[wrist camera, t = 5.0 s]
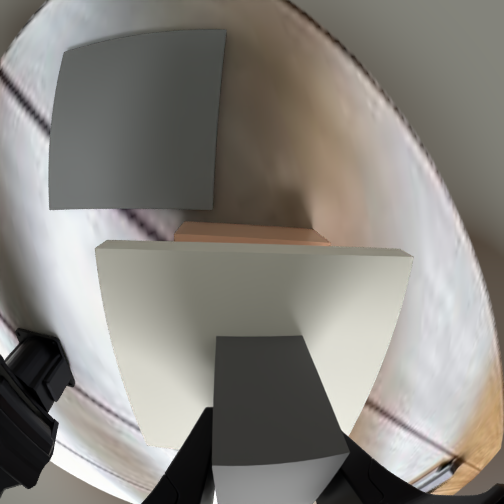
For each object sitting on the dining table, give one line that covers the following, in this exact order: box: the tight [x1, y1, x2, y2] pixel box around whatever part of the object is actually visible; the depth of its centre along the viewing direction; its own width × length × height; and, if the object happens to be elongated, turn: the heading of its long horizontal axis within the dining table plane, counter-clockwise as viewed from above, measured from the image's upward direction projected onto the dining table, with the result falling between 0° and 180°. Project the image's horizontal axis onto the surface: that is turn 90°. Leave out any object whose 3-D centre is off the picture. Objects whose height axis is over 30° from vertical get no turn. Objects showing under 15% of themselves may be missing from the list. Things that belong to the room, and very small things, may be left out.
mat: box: [49, 29, 226, 210], centre depth 15 cm, size 13×13×1 cm
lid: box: [95, 240, 414, 504], centre depth 8 cm, size 11×11×6 cm
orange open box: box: [174, 221, 331, 246], centre depth 18 cm, size 9×9×4 cm
